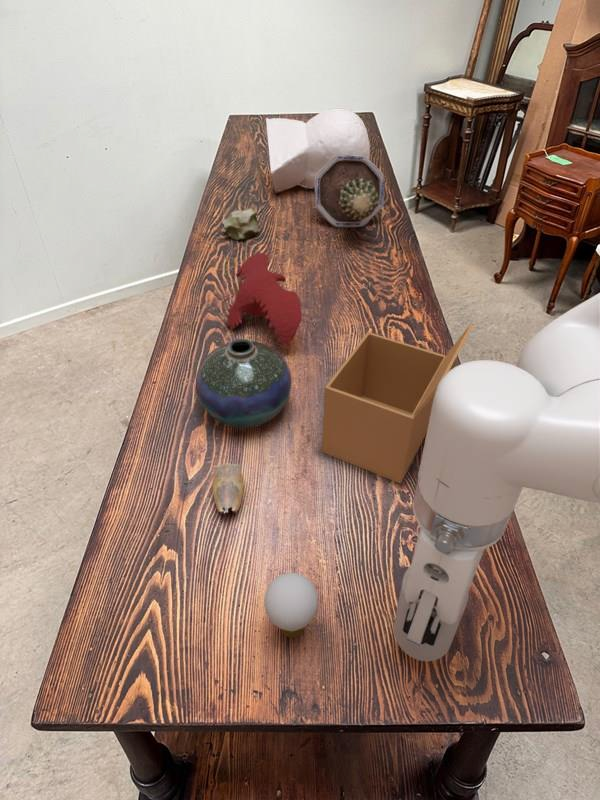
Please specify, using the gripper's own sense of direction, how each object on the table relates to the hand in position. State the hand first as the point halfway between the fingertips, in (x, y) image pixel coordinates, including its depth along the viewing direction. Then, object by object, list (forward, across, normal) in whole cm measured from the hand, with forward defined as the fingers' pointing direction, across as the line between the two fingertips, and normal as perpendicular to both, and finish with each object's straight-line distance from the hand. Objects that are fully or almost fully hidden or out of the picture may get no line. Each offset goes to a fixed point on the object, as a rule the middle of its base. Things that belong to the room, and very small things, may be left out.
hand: (430, 604), depth 55 cm
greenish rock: (+9, +78, +75) cm, 108 cm away
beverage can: (+7, 0, 0) cm, 7 cm away
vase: (+10, +24, +39) cm, 46 cm away
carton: (+10, +29, +17) cm, 35 cm away
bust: (+10, +114, +72) cm, 135 cm away
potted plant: (+10, +94, +52) cm, 108 cm away
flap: (-7, +29, +9) cm, 31 cm away
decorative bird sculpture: (+10, +47, +51) cm, 70 cm away
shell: (+10, +7, +31) cm, 33 cm away
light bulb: (+10, -5, +14) cm, 18 cm away
